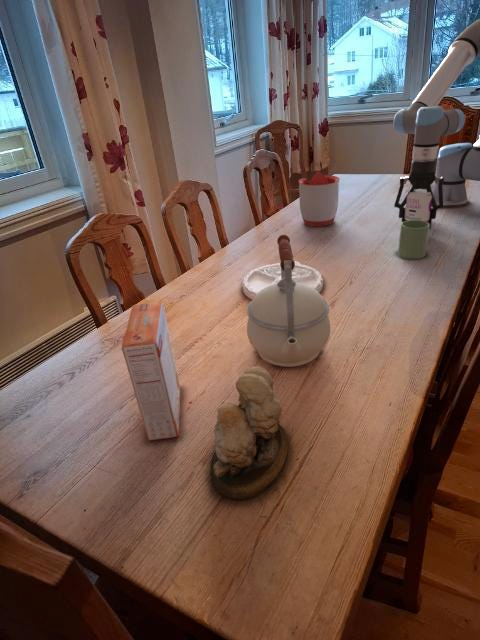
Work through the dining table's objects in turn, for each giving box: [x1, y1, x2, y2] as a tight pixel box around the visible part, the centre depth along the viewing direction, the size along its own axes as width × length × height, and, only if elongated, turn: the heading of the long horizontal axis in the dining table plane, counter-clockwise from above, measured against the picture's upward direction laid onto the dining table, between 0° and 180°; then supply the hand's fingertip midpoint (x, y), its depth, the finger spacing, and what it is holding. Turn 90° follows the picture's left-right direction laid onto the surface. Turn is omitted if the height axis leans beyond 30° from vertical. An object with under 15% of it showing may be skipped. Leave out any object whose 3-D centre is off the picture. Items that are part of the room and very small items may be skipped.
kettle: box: [246, 234, 331, 368], centre depth 90 cm, size 25×18×25 cm
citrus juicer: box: [298, 171, 340, 228], centre depth 169 cm, size 16×17×20 cm
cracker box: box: [121, 301, 182, 442], centre depth 77 cm, size 14×6×21 cm, turn 5°
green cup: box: [397, 220, 430, 260], centre depth 136 cm, size 8×8×10 cm
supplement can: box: [404, 189, 432, 223], centre depth 148 cm, size 8×8×15 cm
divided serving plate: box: [242, 260, 324, 301], centre depth 127 cm, size 24×27×2 cm
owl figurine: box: [209, 365, 289, 501], centre depth 67 cm, size 18×12×17 cm, turn 157°
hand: (415, 227), depth 151 cm, fingers closed on supplement can, 8 cm apart
